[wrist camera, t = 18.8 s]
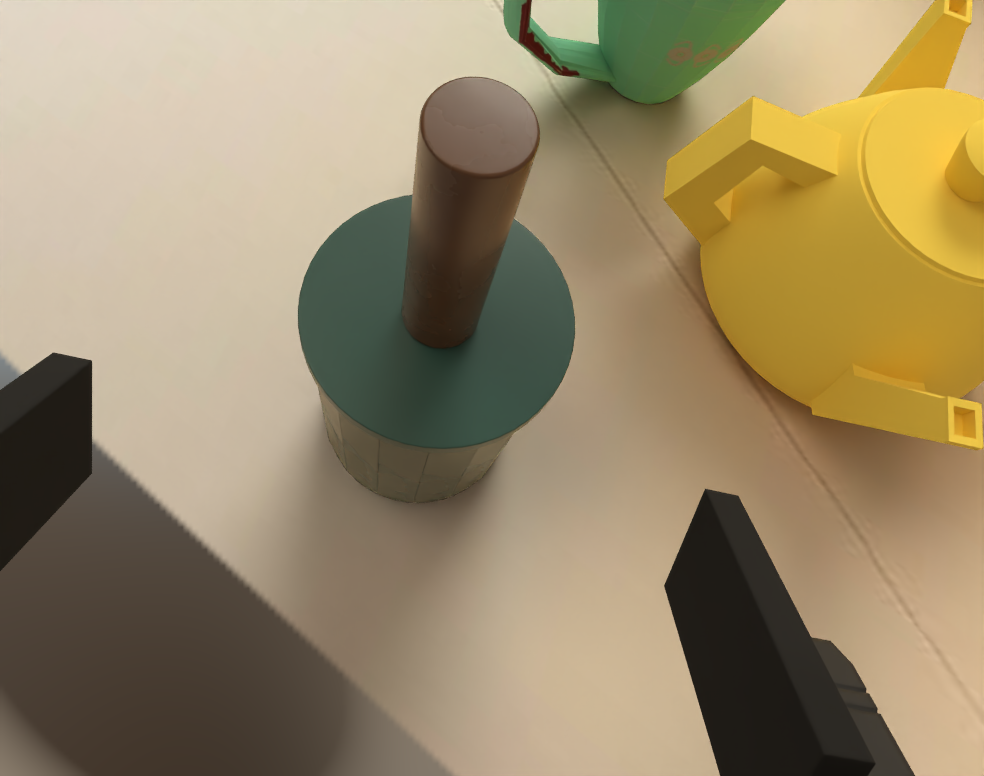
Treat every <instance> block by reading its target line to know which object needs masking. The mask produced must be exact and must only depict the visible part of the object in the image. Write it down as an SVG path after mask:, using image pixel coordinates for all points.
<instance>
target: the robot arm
mask: <svg viewBox="0 0 984 776" xmlns="http://www.w3.org/2000/svg"><path fill="white" fill-rule="evenodd" d="M91 474H92V361H91V360H87V359H82V358H77V357H72V356H68V355H63V354H58V353H52V354H51V355H49V356H48V357H46V358H45V359H44V360H42V361H41V362H39V363H38V364H36V365H35V366H34V367H32V368H31V369H29V370H28V371H27V372H25V373H24V374H22V375H21V376H19V377H18V378H17V379H15V380H14V381H12V382H11V383H10V384H8V385H7V386H5V387H4V388H2V389H1V390H0V571H1V570H2V569H3V568H4V567H5V565H6V564H7V563H8V562H9V561H10V560H11V559H12V558H13V557H14V556H15V555H16V554H17V553H18V552H19V550H21V548H22V547H23V546H24V545H25V544H26V543H27V542H28V541H29V540H30V539H31V538H32V537H33V536H34V535H35V533H36V532H37V531H38V530H39V529H40V528H41V527H42V526H43V525H44V524H45V523H46V522H47V521H48V520H49V519H50V517H51V516H52V515H53V514H54V513H55V512H56V511H57V510H58V509H59V508H60V507H61V506H62V505H63V504H64V503H65V501H66V500H67V499H68V498H69V497H70V496H71V495H72V494H73V493H74V492H75V491H76V490H77V489H78V488H79V487H80V485H81V484H82V483H83V482H84V481H85V480H86V479H87V478H88V477H89V476H90V475H91ZM664 587H665V590H666V593H667V597H668V600H669V604H670V607H671V610H672V614H673V617H674V621H675V624H676V627H677V631H678V634H679V637H680V641H681V644H682V648H683V651H684V654H685V658H686V661H687V665H688V668H689V671H690V675H691V678H692V681H693V685H694V688H695V692H696V695H697V698H698V702H699V705H700V709H701V712H702V715H703V719H704V722H705V725H706V729H707V732H708V736H709V739H710V742H711V746H712V749H713V753H714V756H715V759H716V763H717V766H718V770H719V773H720V776H915V775H914V773H913V771H912V770H911V768H910V766H909V764H908V762H907V761H906V759H905V757H904V755H903V753H902V752H901V750H900V748H899V746H898V745H897V743H896V741H895V739H894V737H893V736H892V734H891V732H890V730H889V728H888V727H887V725H886V723H885V721H884V719H883V718H882V716H881V714H878V713H877V707H876V705H875V703H874V702H873V700H872V698H871V696H870V694H868V693H866V687H865V685H864V684H863V682H862V680H861V678H860V676H859V675H858V673H857V671H856V669H855V668H854V666H853V664H852V663H851V662H850V661H849V660H848V659H847V658H846V657H845V656H844V655H843V654H842V653H841V652H840V651H839V650H838V648H837V647H836V646H835V645H834V644H833V643H832V642H831V641H827V640H822V639H817V638H812V637H811V636H810V634H809V632H808V630H807V628H806V627H805V625H804V623H803V621H802V619H801V617H800V615H799V613H798V611H797V609H796V607H795V605H794V603H793V601H792V599H791V597H790V595H789V593H788V592H787V590H786V588H785V586H784V584H783V582H782V580H781V578H780V576H779V574H778V572H777V570H776V568H775V566H774V564H773V562H772V560H771V558H770V557H769V555H768V553H767V551H766V549H765V547H764V545H763V543H762V541H761V539H760V537H759V535H758V533H757V531H756V529H755V527H754V525H753V523H752V522H751V520H750V518H749V516H748V514H747V512H746V510H745V508H744V506H743V504H742V502H741V500H740V498H739V496H737V495H732V494H727V493H722V492H717V491H713V490H708V489H705V491H704V493H703V495H702V498H701V500H700V502H699V505H698V507H697V509H696V512H695V514H694V517H693V519H692V521H691V524H690V526H689V528H688V531H687V533H686V535H685V538H684V540H683V543H682V545H681V547H680V550H679V552H678V554H677V557H676V559H675V561H674V564H673V566H672V569H671V571H670V573H669V576H668V578H667V580H666V583H665V585H664Z"/></svg>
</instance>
